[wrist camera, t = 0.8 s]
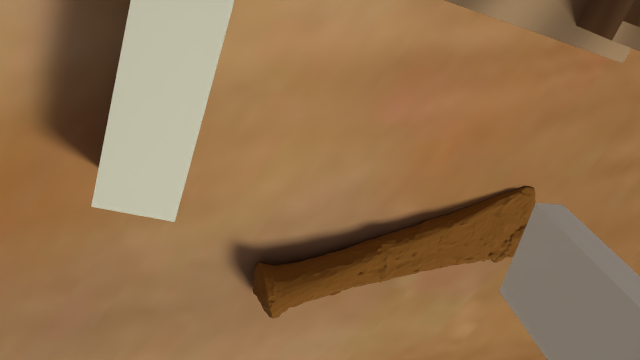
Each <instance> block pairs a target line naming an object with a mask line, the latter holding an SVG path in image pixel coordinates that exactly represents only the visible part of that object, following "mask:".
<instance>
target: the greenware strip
mask: <svg viewBox="0 0 640 360" xmlns="http://www.w3.org/2000/svg"><path fill="white" fill-rule="evenodd" d="M233 4H234V0H131V1H130V7H129V12H128V17H127V22H126V28H125V33H124V38H123V43H122V49H121V54H120V59H119V64H118V70H117V75H116V80H115V85H114V91H113V96H112V101H111V106H110V112H109V117H108V122H107V127H106V133H105V138H104V143H103V148H102V154H101V159H100V164H99V169H98V175H97V180H96V185H95V190H94V196H93V201H92V206H91V207H96V208H101V209H107V210H112V211H118V212H123V213H129V214H134V215H140V216H145V217H151V218H156V219H161V220H167V221H172V222H175V219H176V215H177V211H178V207H179V204H180V200H181V196H182V193H183V189H184V185H185V182H186V178H187V174H188V170H189V167H190V163H191V159H192V156H193V152H194V148H195V144H196V141H197V137H198V133H199V130H200V126H201V122H202V119H203V115H204V111H205V107H206V104H207V100H208V96H209V93H210V89H211V85H212V82H213V78H214V74H215V70H216V67H217V63H218V59H219V56H220V52H221V48H222V45H223V41H224V37H225V33H226V30H227V26H228V22H229V19H230V15H231V11H232V7H233Z"/></svg>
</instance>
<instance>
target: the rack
mask: <svg viewBox="0 0 640 360" xmlns="http://www.w3.org/2000/svg"><path fill="white" fill-rule="evenodd" d="M445 1H448V2H451V3H453V4H456V5H459V6H462V7H465V8H468V9H470V10H473V11H476V12H479V13H482V14H485V15H487V16H490V17H493V18H496V19H499V20H502V21H504V22H507V23H510V24H513V25H516V26H519V27H522V28H524V29H527V30H530V31H533V32H536V33H539V34H541V35H544V36H547V37H550V38H553V39H556V40H558V41H561V42H564V43H567V44H570V45H573V46H575V47H578V48H581V49H584V50H587V51H590V52H592V53H595V54H598V55H601V56H604V57H607V58H610V59H612V60H615V61H618V62H621V63H623V62H624V60H625V58H626V57H627V55H628V53H629V52H630V50H631V48H633V49H635V50H638V51H640V0H445Z"/></svg>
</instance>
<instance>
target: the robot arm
mask: <svg viewBox="0 0 640 360" xmlns="http://www.w3.org/2000/svg"><path fill="white" fill-rule="evenodd" d="M499 292H500V293H501V295H502V296H503V298H504V299H505V300H506V302H507V303H508V305H509V306H510V307H511V309H512V310H513V312H514V313H515V315H516V316H517V317H518V319H519V320H520V322H521V323H522V324H523V326H524V327H525V329H526V330H527V331H528V333H529V334H530V336H531V337H532V339H533V340H534V341H535V343H536V344H537V346H538V347H539V348H540V350H541V351H542V353H543V354H544V355H545V357H546V358H547V360H640V276H639V275H638V274H637V273H635V272H634V271H633V270H632V269H631V268H630V267H629V266H628V265H627V264H626V263H625V262H624V261H623V260H622V259H620V258H619V257H618V256H617V255H616V254H615V253H614V252H613V251H612V250H611V249H610V248H609V247H608V246H607V245H605V244H604V243H603V242H602V241H601V240H600V239H599V238H598V237H597V236H596V235H595V234H594V233H593V232H591V231H590V230H589V229H588V228H587V227H586V226H585V225H584V224H583V223H582V222H581V221H580V220H579V219H578V218H576V217H575V216H574V215H573V214H572V213H571V212H570V211H569V210H568V209H567V208H566V207H565V206H564V205H561V204H541V203H535V206H534V208H533V211H532V213H531V216H530V218H529V220H528V223H527V225H526V228H525V230H524V233H523V235H522V237H521V240H520V242H519V245H518V247H517V249H516V252H515V254H514V257H513V259H512V262H511V264H510V266H509V269H508V271H507V274H506V276H505V278H504V281H503V283H502V286H501V288H500V291H499Z"/></svg>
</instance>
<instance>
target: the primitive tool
mask: <svg viewBox="0 0 640 360" xmlns="http://www.w3.org/2000/svg"><path fill="white" fill-rule="evenodd" d="M534 206H535V190H534V188H533V187H530V186H527V187H524V188H519V189H516V190H513V191H510V192H506V193H503V194H500V195H497V196H494V197H492V198H489V199H487V200H484V201H481V202H478V203H476V204H474V205H471V206H469V207H466V208H463V209H461V210H458V211H456V212H452V213H450V214H447V215H443V216H440V217H437V218H434V219H430V220H427V221H425V222H423V223H420V224H418V225H415V226H411V227H407V228H404V229H401V230H399V231H395V232H392V233H389V234H386V235H383V236H380V237H377V238H374V239H369V240H366V241H364V242H362V243H359V244H356V245H354V246H351V247H349V248H346V249H344V250H340V251H337V252H332V253H328V254H325V255H322V256H319V257H316V258H312V259H306V260H303V261H301V262H295V263H291V264H280V265H277V266H274V265H270V264H263V263H257V264H256V268H255V270H254V288H253V293H254V294H255V295H256V296H257V298H258V300H259V301H260V303H261V305H262V308H263V309H264V311H265V312H266V313H267V314H268V316H269V317H271V318H277V317H279V316H280V315H281V314H282V313H283V312H284V311H286V310H287V309H288V308H290V307H295V306H297V305H300V304H302V303H304V302H307V301H311V300H315V299H318V298H321V297H325V296H328V295H335V294H337V293H339V292H341V291H342V290H346V289H349V288H352V287H357V286H362V285H366V284H371V283H376V282H382V281H386V280H389V279H392V278H395V277H401V276H406V275H410V274H415V273H418V272H420V271H427V270H433V269H436V268H442V267H447V266H450V265H459V264H464V263H475V262H477V261H485V260H489V259H491V260H492V261H493V262H499V261H501V260H503V259H504V258H506V257H513V256H514V254H515V252H516V249H517V247H518V245H519V242H520V240H521V237H522V235H523V233H524V230H525V228H526V225H527V223H528V220H529V218H530V216H531V213H532V211H533V208H534Z"/></svg>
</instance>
